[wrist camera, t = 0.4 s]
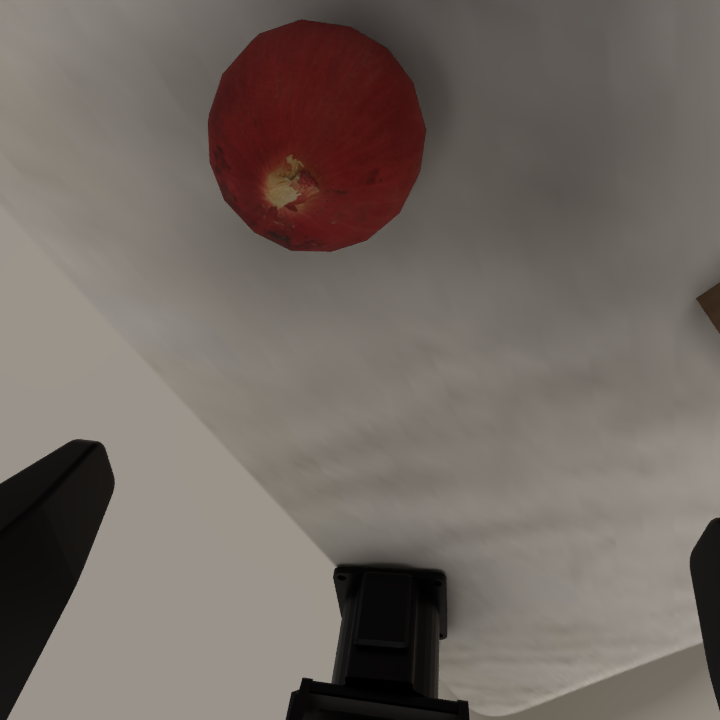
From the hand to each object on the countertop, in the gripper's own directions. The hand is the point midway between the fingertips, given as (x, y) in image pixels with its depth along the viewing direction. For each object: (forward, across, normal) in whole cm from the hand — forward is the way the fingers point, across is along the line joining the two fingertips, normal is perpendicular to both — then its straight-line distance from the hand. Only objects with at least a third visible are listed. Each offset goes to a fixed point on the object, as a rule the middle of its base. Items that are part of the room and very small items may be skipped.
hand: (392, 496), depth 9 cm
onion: (+14, +3, -2) cm, 15 cm away
